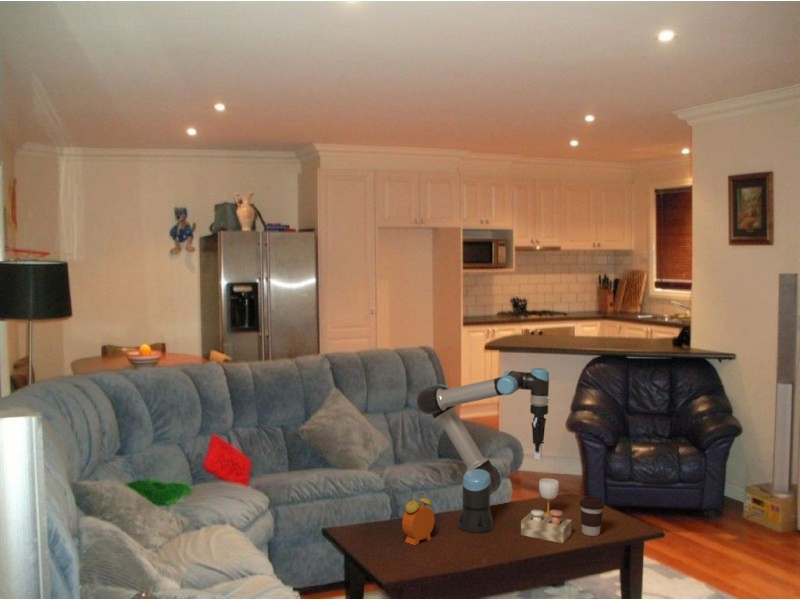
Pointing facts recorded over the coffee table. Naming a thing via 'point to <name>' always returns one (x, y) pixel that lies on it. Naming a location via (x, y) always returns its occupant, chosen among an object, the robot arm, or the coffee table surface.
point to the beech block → (546, 528)
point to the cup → (548, 490)
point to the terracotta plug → (555, 516)
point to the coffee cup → (591, 515)
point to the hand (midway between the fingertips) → (537, 458)
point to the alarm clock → (418, 521)
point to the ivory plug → (537, 514)
